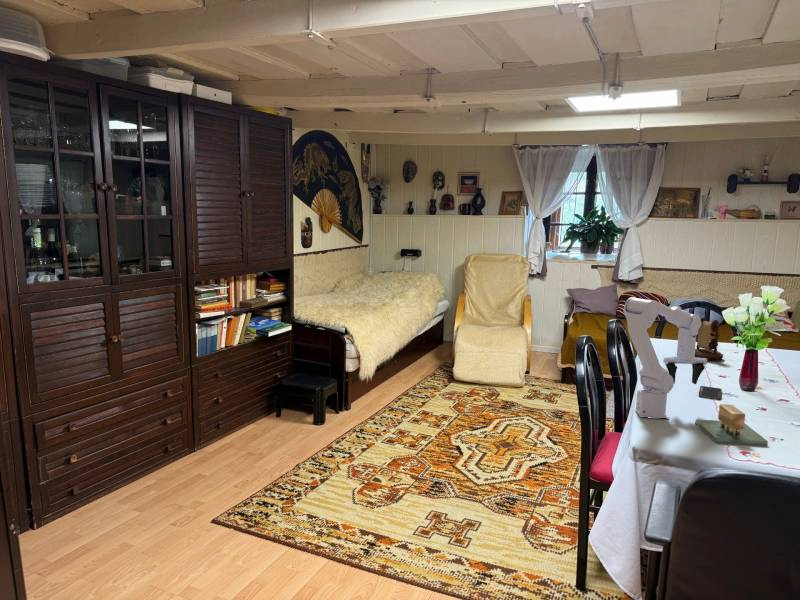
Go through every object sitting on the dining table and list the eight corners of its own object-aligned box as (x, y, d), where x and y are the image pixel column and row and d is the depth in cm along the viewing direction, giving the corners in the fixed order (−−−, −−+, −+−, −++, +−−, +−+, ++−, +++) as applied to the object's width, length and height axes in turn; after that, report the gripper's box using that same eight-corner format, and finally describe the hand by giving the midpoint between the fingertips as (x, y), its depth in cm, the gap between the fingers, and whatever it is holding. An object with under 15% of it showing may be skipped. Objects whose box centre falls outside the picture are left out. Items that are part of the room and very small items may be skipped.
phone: (698, 395, 223) (700, 385, 236) (698, 398, 224) (700, 388, 236) (721, 398, 220) (722, 388, 232) (721, 401, 220) (722, 391, 233)
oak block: (730, 428, 181) (731, 413, 180) (718, 418, 189) (719, 404, 189) (743, 429, 180) (745, 414, 179) (731, 419, 189) (732, 404, 188)
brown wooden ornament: (682, 356, 290) (686, 317, 287) (702, 353, 296) (706, 315, 293) (709, 363, 276) (712, 322, 273) (729, 360, 282) (733, 320, 280)
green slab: (715, 442, 178) (716, 432, 177) (695, 423, 195) (696, 413, 194) (767, 445, 176) (768, 435, 175) (742, 426, 193) (743, 416, 192)
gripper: (670, 348, 202) (667, 385, 204) (712, 349, 201) (709, 386, 203) (662, 344, 209) (659, 380, 211) (703, 344, 208) (699, 381, 210)
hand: (683, 383), depth 207 cm, fingers open, 7 cm apart
